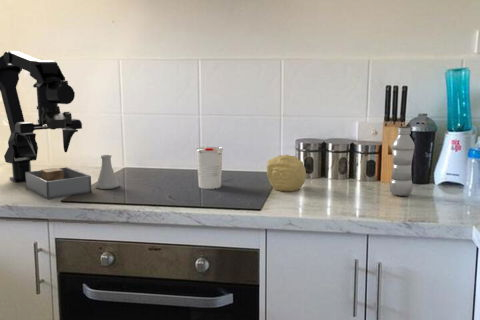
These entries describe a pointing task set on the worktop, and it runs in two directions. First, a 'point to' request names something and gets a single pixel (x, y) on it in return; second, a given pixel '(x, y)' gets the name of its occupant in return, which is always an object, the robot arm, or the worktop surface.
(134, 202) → the worktop surface
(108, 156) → the flask
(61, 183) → the tote
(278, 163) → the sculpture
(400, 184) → the plastic bottle
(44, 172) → the walnut cube
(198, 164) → the white bucket
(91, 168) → the worktop surface
